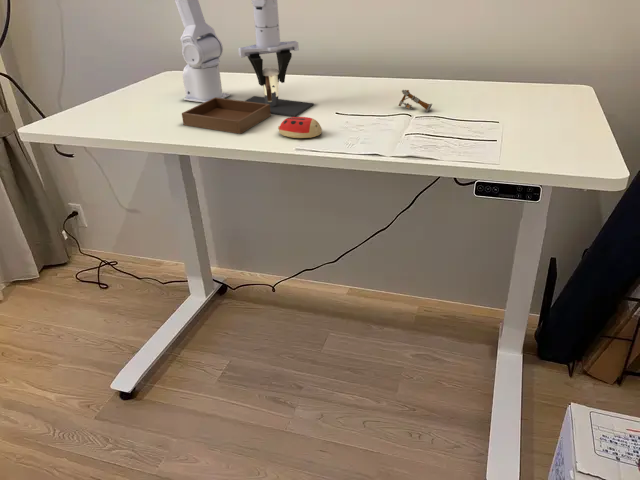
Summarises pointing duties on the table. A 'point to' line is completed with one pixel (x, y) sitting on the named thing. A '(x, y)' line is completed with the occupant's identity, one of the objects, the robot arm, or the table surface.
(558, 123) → the table surface
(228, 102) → the tray
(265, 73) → the milkshake
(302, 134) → the ladybug figurine
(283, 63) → the robot arm
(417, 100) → the wooden post with brackets
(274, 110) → the mouse pad
